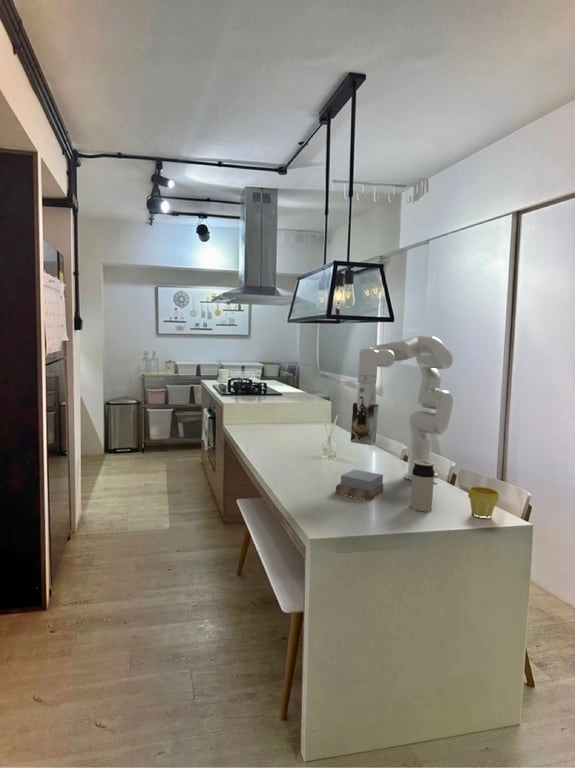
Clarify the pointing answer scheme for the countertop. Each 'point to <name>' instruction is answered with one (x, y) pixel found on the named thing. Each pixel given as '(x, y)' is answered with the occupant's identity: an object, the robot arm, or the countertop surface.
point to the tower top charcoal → (361, 480)
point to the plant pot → (482, 500)
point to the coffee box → (364, 426)
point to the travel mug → (422, 485)
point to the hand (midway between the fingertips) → (364, 422)
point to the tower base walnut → (359, 492)
